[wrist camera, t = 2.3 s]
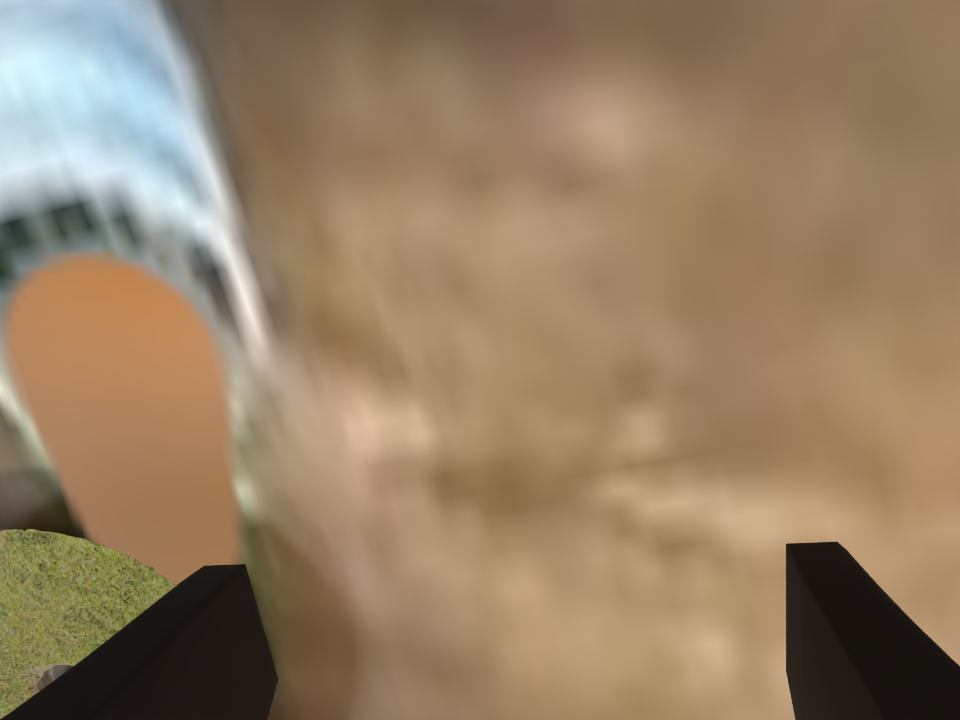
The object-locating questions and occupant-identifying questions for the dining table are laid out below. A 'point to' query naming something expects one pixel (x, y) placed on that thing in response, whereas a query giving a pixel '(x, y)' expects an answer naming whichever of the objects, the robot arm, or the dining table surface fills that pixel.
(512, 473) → the dining table surface
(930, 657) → the robot arm
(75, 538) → the mat
